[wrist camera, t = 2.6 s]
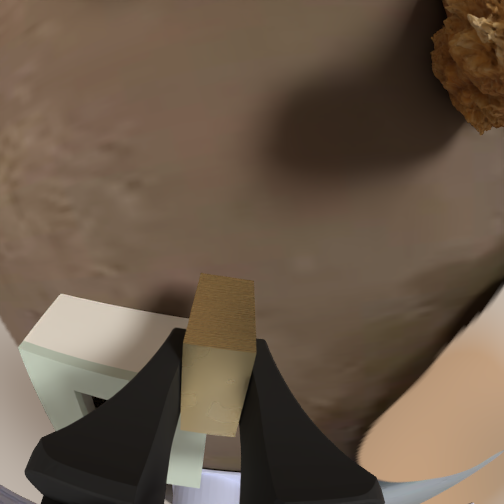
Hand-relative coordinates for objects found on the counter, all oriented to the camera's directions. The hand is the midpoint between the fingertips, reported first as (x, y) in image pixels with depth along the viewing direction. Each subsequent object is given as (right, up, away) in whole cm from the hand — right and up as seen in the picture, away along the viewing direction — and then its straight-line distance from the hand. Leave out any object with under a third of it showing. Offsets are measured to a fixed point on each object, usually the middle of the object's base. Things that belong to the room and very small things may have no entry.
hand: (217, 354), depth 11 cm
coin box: (-6, -5, +8) cm, 12 cm away
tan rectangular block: (0, +1, +2) cm, 2 cm away
